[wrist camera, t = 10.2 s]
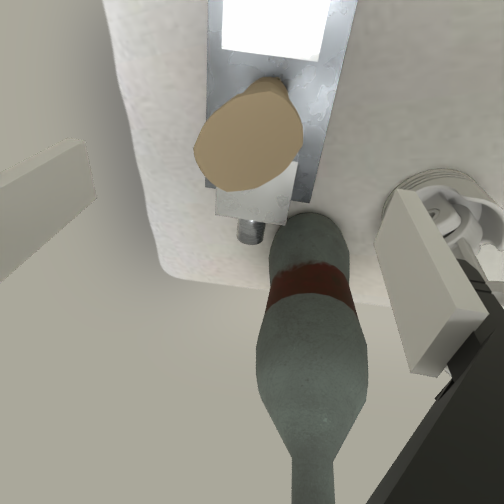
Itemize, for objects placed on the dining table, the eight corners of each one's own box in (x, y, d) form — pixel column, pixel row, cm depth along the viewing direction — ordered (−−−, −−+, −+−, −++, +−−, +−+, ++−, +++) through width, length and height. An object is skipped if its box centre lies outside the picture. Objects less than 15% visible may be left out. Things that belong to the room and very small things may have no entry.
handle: (313, 96, 30) (318, 151, 18) (256, 135, 32) (228, 205, 21) (285, 45, 28) (270, 69, 16) (227, 91, 30) (177, 141, 18)
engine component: (497, 216, 35) (453, 148, 31) (665, 392, 19) (613, 294, 15) (403, 265, 40) (357, 212, 37) (471, 435, 24) (399, 369, 21)
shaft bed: (384, -118, 22) (410, -159, 17) (303, 226, 39) (303, 259, 34) (212, -137, 22) (184, -183, 17) (206, 210, 39) (191, 241, 34)
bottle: (271, 206, 38) (216, 537, 14) (351, 208, 37) (439, 573, 13) (271, 268, 43) (232, 579, 20) (341, 271, 42) (389, 607, 18)
